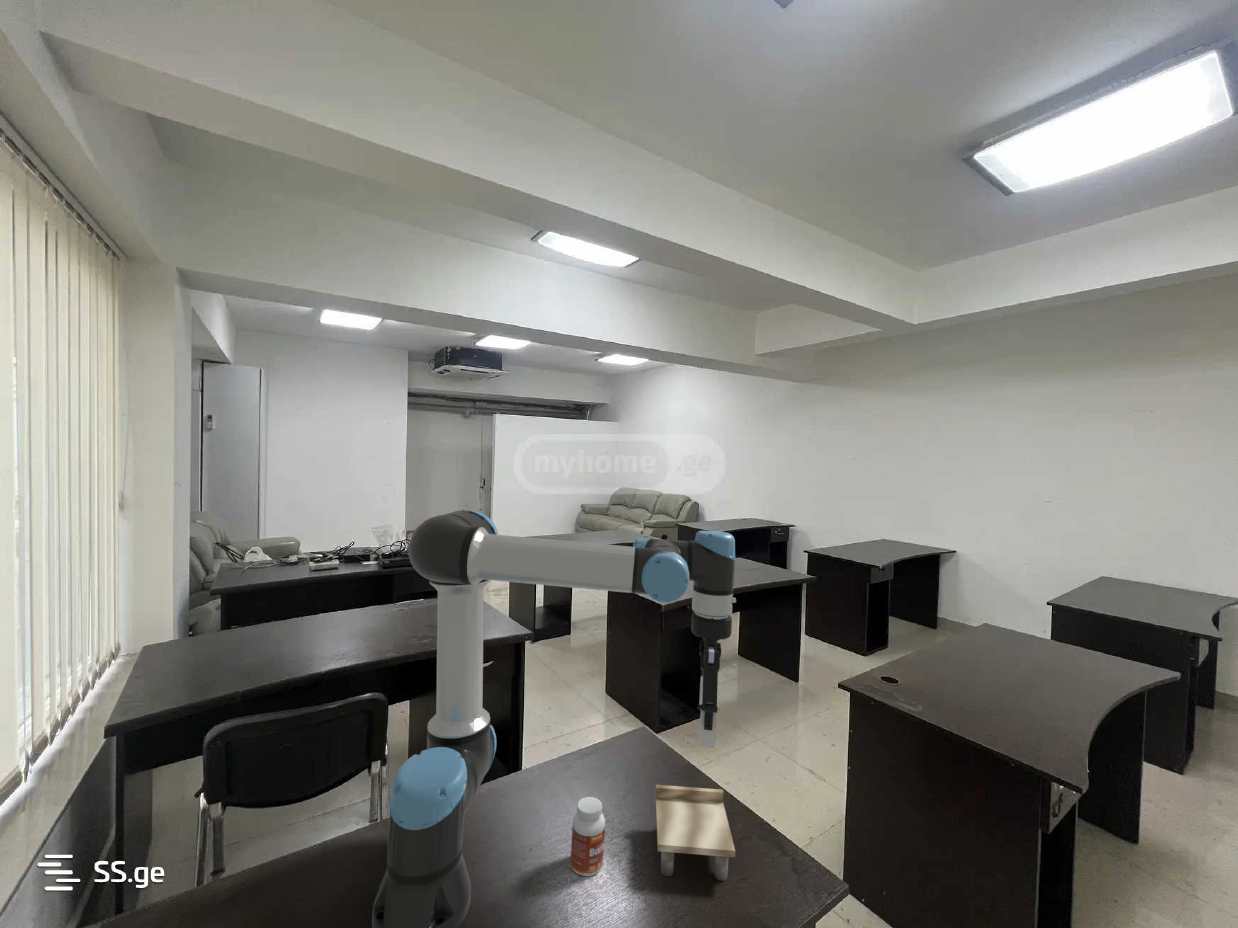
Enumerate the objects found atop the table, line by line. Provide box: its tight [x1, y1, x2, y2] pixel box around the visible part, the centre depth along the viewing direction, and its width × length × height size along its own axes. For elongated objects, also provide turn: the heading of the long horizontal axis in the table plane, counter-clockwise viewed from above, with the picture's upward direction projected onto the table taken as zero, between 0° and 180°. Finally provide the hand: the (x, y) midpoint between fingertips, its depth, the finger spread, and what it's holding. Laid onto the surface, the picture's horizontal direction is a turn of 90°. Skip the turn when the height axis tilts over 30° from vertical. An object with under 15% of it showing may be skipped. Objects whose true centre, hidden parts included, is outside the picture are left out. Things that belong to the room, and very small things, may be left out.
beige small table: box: [655, 784, 736, 882], centre depth 96 cm, size 14×14×8 cm
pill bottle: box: [570, 796, 606, 877], centre depth 92 cm, size 6×6×11 cm
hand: (706, 726), depth 92 cm, fingers open, 13 cm apart
